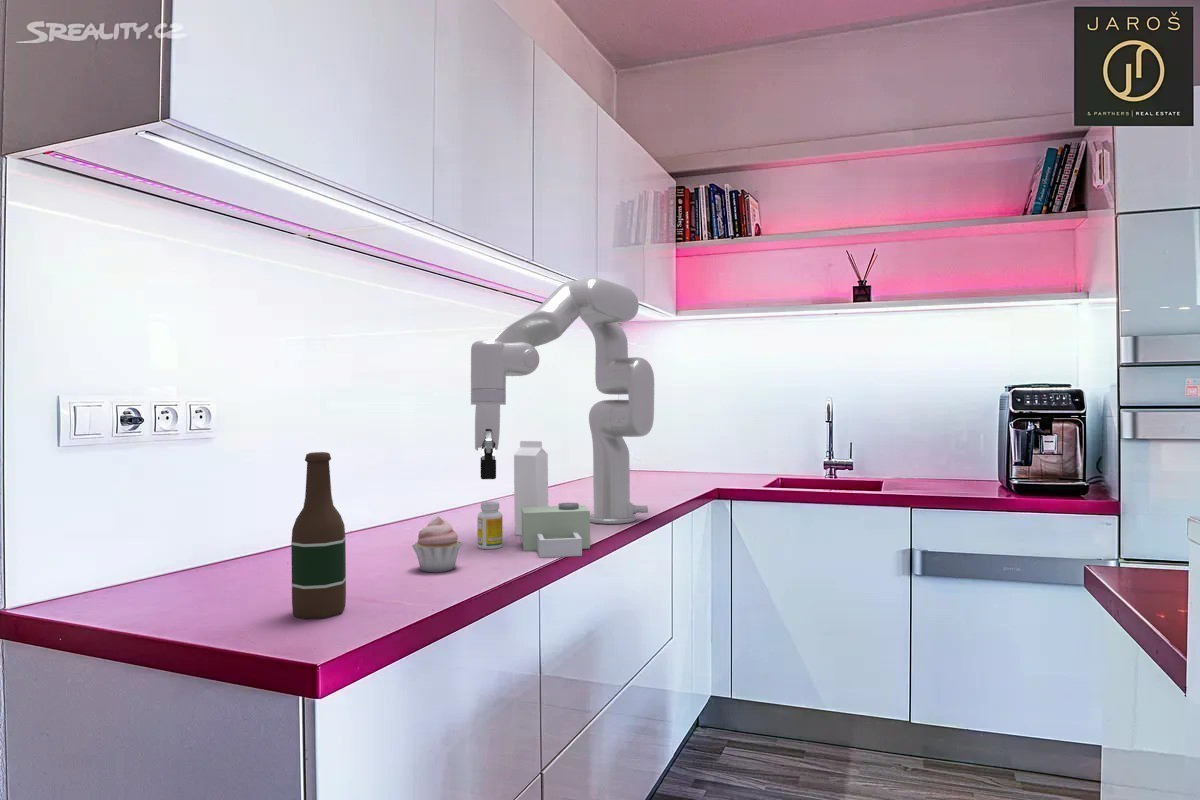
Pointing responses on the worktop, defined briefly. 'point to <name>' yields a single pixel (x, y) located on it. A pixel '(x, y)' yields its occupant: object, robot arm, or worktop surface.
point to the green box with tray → (556, 530)
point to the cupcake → (437, 546)
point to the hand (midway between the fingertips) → (488, 477)
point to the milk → (529, 479)
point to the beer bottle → (318, 547)
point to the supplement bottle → (489, 526)
